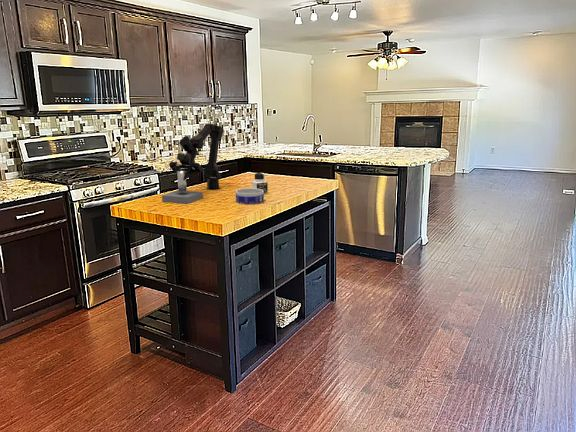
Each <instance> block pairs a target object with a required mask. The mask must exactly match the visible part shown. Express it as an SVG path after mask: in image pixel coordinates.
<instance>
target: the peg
mask: <svg viewBox="0 0 576 432" xmlns="http://www.w3.org/2000/svg"><path fill="white" fill-rule="evenodd" d="M185 174H186V170H184V169H181V171H177V176H178V180H177V187H178V189H177V190H179V191H180V192H184V191H188V190H187V189H188V188H187V179H186V180H184V176H185Z"/></svg>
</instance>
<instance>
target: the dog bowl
mask: <svg viewBox="0 0 576 432" xmlns="http://www.w3.org/2000/svg"><path fill="white" fill-rule="evenodd" d="M264 196H265V194H264V191H263V190H262V189H256V188H252V187H249V188H248V187H247V188H239V189H236V190H235V203H237V202H238V203H237V204H240V203H244V204H243V205H255V204H254V203H258V204H261V203H260V202H262V203H263V202H264V200H265V199H264Z"/></svg>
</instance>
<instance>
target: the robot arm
mask: <svg viewBox="0 0 576 432" xmlns="http://www.w3.org/2000/svg"><path fill="white" fill-rule="evenodd" d="M224 131H225V130H224V127H222V125H217V124H216V125H215V124H214V123H206V124H205V125H204V126H203V128H202V129H201V130H200V131H199V133H197V135H194V136H192V137H191V138H190V136H188V135H187V136H184V137H183V138H181V139H180V140H179V142H178V143H179V145H180V147H181V149H183V151H184V152H185V153H177V155H176V161H169V164H168V166H169V167H170V169H171V171H173V172H176V174H175V177H176V178H175V179H176V180H177V181H178V176H177V171H181V170H185V173H186V174H185V176H184V180H186V181H187V179H189V177H191V176H192V175H194V174H196V173H199V174H200V173H201V174H202V172H203V174H204V179H205V180H206V188H207V189H208V190H210V191H212V190H220V189H221V188H220V180H221V177H222V174H221V173H220V171H219V167H218V165H217V162H218V161H217V159H218V153H219V152H218V151H219V146H220V145H219V144H220V140H221V139H222V137H223V135H224ZM207 137H210V146H209V147H210V148H209V155H208V160H207V161H208V162H207V163H205V164H204V168H203V167H202V166H201V164H200V163H199V162H196V160H195V159H196V158H197V156H200V153H199V151H198V150H201V149H202V148H203V146H204V145H205V140H206V139H207ZM177 160H178V161H179V163H178V162H177Z"/></svg>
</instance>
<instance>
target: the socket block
mask: <svg viewBox="0 0 576 432" xmlns="http://www.w3.org/2000/svg"><path fill="white" fill-rule="evenodd" d="M203 198H204V193H203V191H195V190H187V191H184V192H180V191H179V190H178V189H177V190H174V191H171V192H168V193H165V194H163V195H161V201H162V203H174V204H184V205H185V204H186V205H189V204H191V203H193V202H196V201H198V200H201V199H203Z"/></svg>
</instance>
